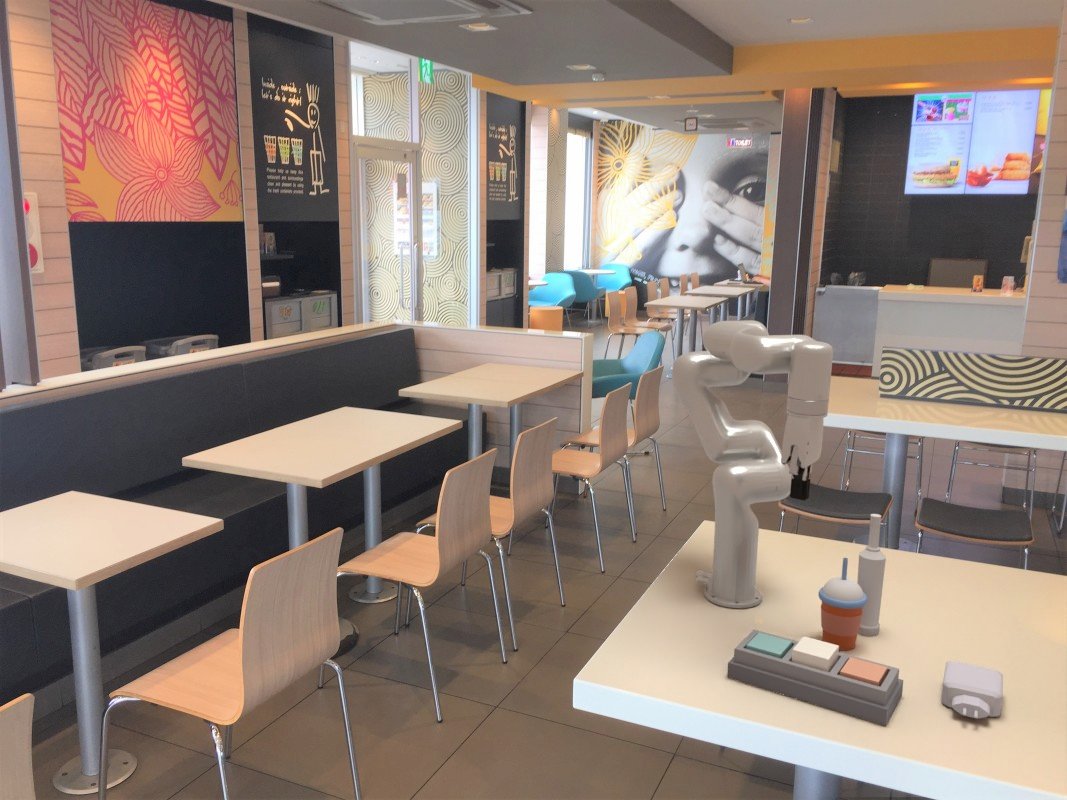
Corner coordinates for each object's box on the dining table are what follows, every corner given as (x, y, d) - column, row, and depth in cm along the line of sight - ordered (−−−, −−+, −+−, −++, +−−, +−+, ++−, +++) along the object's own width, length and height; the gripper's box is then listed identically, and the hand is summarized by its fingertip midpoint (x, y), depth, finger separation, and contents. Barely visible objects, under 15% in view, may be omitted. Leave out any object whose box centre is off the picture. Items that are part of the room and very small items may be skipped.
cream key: (791, 665, 158) (792, 649, 157) (802, 651, 163) (803, 636, 162) (827, 675, 154) (828, 659, 154) (837, 660, 159) (839, 645, 159)
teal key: (745, 660, 163) (746, 645, 162) (758, 646, 168) (758, 632, 167) (779, 669, 159) (780, 654, 159) (791, 656, 164) (792, 641, 164)
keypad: (727, 677, 162) (728, 649, 161) (750, 652, 172) (752, 626, 171) (885, 726, 147) (888, 695, 146) (902, 695, 157) (904, 667, 155)
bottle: (881, 637, 179) (892, 520, 174) (854, 635, 180) (864, 518, 175) (876, 626, 184) (887, 512, 179) (850, 624, 185) (860, 510, 180)
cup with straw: (862, 637, 179) (869, 553, 176) (863, 657, 171) (870, 569, 167) (815, 630, 182) (821, 547, 178) (814, 649, 173) (820, 563, 170)
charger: (938, 722, 149) (943, 683, 162) (999, 737, 144) (1000, 695, 157) (941, 696, 148) (946, 659, 161) (1002, 710, 143) (1003, 671, 156)
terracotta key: (838, 687, 153) (840, 671, 153) (848, 672, 159) (850, 657, 158) (877, 698, 150) (878, 682, 149) (886, 682, 155) (887, 667, 154)
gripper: (801, 397, 175) (794, 485, 179) (773, 410, 163) (766, 504, 167) (839, 402, 171) (831, 492, 175) (813, 416, 159) (804, 512, 163)
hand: (799, 497), depth 171 cm, fingers closed
